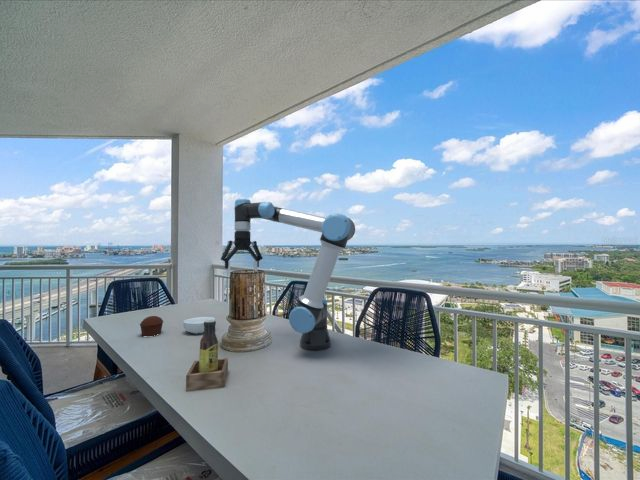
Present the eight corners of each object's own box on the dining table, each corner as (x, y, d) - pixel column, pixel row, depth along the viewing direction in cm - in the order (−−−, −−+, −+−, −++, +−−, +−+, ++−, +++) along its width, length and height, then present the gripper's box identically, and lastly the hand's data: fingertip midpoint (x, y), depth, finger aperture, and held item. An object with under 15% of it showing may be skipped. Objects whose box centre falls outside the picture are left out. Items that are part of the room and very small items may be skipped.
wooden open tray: (227, 371, 108) (227, 357, 108) (224, 387, 96) (224, 371, 96) (194, 374, 105) (194, 360, 106) (185, 391, 93) (186, 375, 93)
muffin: (155, 338, 151) (155, 319, 151) (134, 338, 151) (135, 319, 151) (167, 331, 163) (167, 314, 163) (148, 331, 163) (148, 314, 163)
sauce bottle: (211, 382, 97) (211, 323, 98) (195, 380, 98) (195, 323, 99) (221, 374, 103) (221, 319, 104) (206, 372, 104) (206, 318, 105)
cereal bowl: (221, 330, 164) (221, 318, 164) (195, 338, 150) (195, 324, 150) (203, 326, 173) (203, 315, 173) (176, 333, 159) (177, 320, 159)
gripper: (262, 232, 148) (262, 273, 147) (214, 230, 132) (213, 275, 132) (269, 231, 142) (269, 273, 141) (219, 229, 127) (218, 276, 126)
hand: (242, 274), depth 136 cm, fingers open, 13 cm apart
